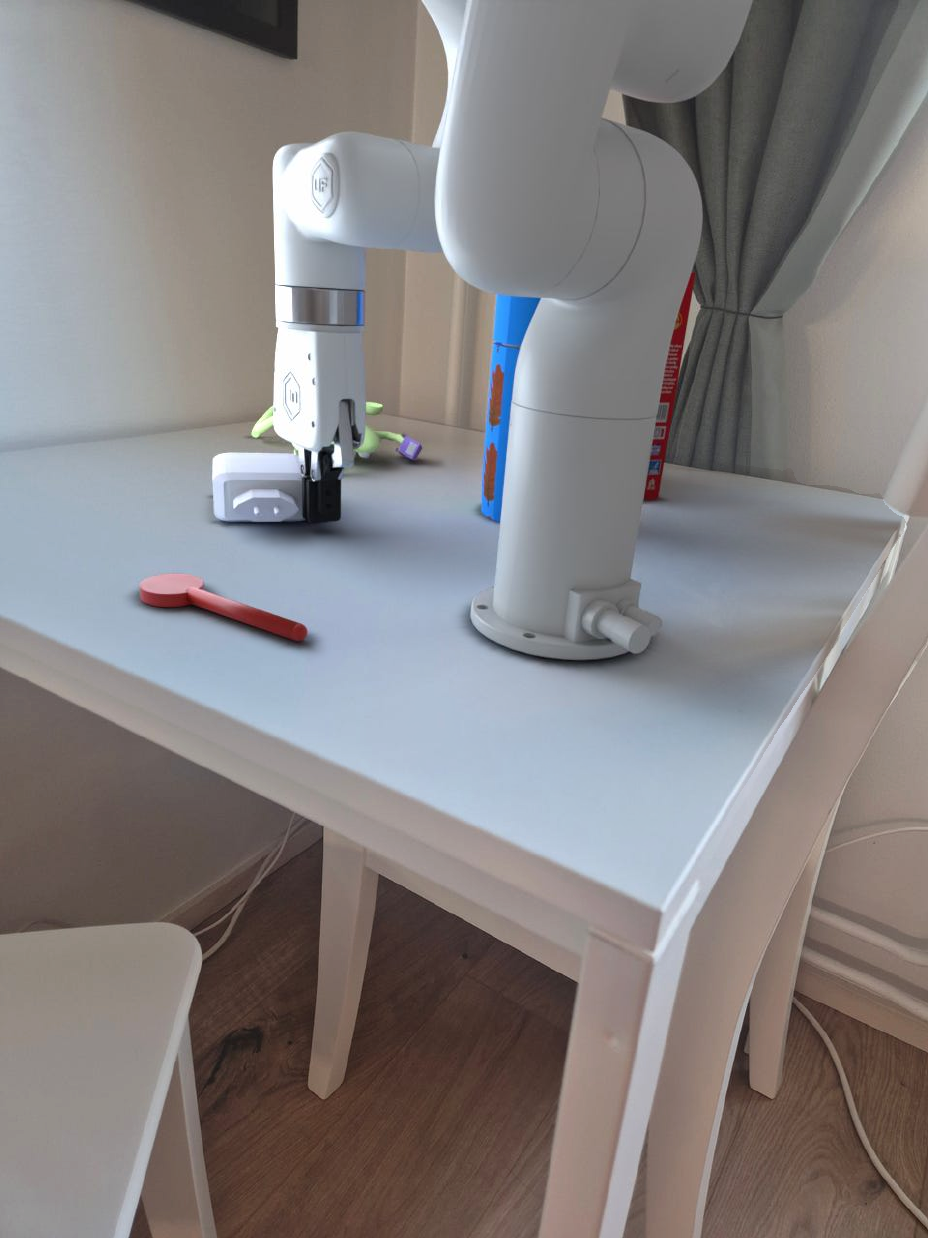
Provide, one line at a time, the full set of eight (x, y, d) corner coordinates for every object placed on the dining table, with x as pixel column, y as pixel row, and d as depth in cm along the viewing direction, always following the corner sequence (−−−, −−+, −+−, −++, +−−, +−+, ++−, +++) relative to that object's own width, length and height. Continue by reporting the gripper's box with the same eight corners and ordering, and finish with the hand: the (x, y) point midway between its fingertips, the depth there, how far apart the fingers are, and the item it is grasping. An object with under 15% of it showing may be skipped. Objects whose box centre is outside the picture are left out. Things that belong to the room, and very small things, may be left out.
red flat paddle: (326, 632, 56) (327, 616, 56) (282, 654, 53) (281, 636, 52) (176, 581, 63) (175, 566, 63) (127, 596, 60) (125, 581, 59)
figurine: (367, 430, 126) (368, 393, 124) (446, 470, 105) (448, 425, 103) (245, 433, 118) (244, 392, 116) (304, 476, 96) (304, 428, 94)
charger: (214, 542, 72) (214, 497, 86) (320, 540, 75) (305, 497, 88) (211, 488, 71) (212, 452, 84) (321, 489, 73) (304, 453, 86)
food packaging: (658, 498, 99) (695, 272, 90) (622, 501, 97) (656, 269, 87) (588, 470, 111) (615, 268, 102) (555, 471, 109) (579, 265, 99)
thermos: (576, 534, 83) (611, 261, 73) (471, 521, 84) (491, 253, 75) (583, 508, 93) (615, 264, 83) (489, 496, 94) (509, 256, 85)
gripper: (246, 304, 74) (253, 504, 81) (317, 315, 63) (318, 546, 70) (323, 307, 79) (324, 498, 85) (403, 318, 67) (396, 537, 74)
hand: (321, 519), depth 78 cm, fingers closed
